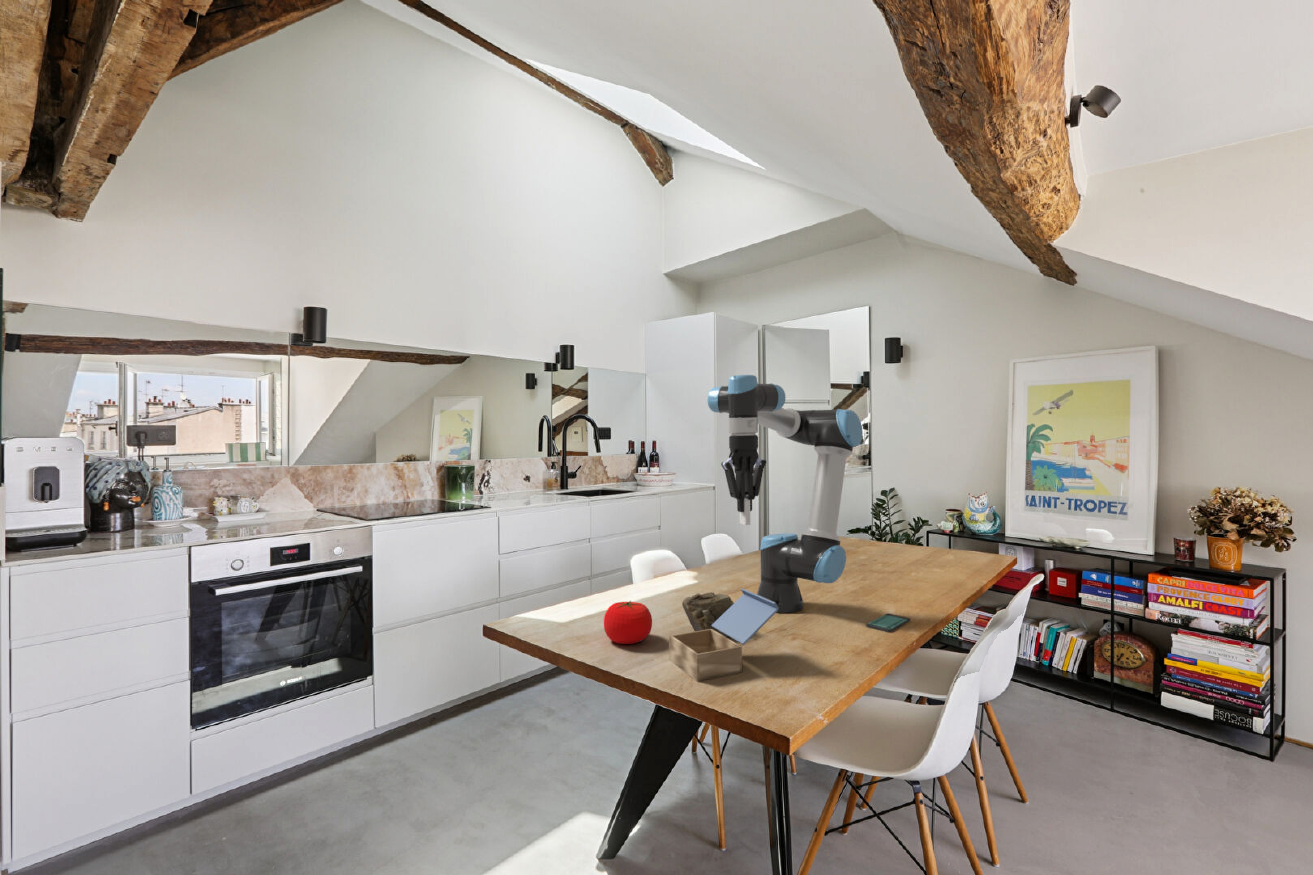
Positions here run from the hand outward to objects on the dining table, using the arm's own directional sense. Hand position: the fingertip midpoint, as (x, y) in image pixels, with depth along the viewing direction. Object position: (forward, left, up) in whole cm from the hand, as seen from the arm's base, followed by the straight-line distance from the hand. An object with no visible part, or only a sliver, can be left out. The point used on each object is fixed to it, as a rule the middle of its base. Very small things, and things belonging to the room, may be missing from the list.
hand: (745, 523), depth 158 cm
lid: (+7, -6, -20) cm, 23 cm away
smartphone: (+3, +48, -33) cm, 58 cm away
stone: (-10, -3, -32) cm, 34 cm away
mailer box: (+7, -16, -32) cm, 37 cm away
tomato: (-17, -26, -32) cm, 45 cm away
